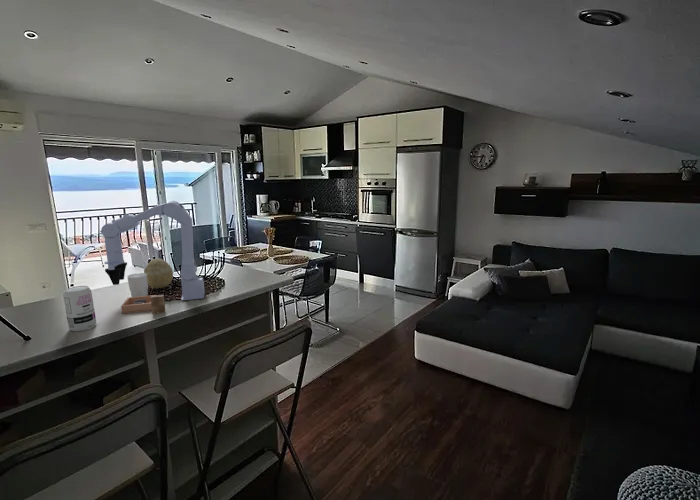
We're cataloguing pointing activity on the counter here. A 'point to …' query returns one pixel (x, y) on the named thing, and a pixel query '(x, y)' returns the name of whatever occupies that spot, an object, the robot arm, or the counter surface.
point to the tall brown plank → (157, 304)
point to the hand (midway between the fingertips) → (118, 282)
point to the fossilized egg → (158, 273)
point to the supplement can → (79, 308)
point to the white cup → (138, 284)
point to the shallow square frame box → (137, 304)
